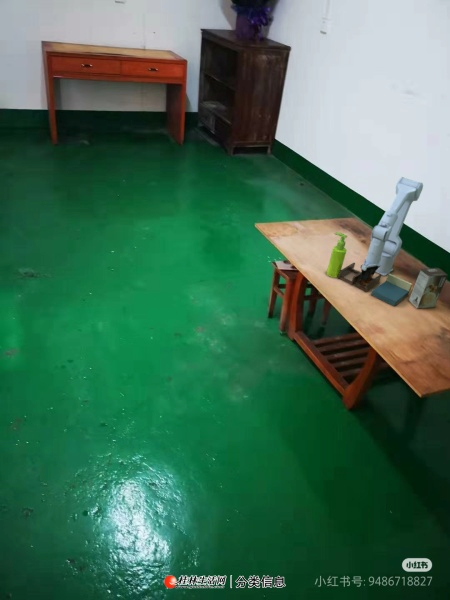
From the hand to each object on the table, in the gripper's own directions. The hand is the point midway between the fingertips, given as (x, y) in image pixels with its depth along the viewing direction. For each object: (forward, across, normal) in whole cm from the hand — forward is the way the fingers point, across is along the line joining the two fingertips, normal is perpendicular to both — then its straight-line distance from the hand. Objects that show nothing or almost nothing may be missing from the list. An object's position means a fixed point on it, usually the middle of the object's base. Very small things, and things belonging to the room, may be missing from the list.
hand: (366, 279), depth 205 cm
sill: (+2, 0, -12) cm, 12 cm away
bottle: (+2, 0, 0) cm, 2 cm away
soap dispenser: (+3, -5, +14) cm, 15 cm away
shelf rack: (+2, 0, +3) cm, 4 cm away
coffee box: (+3, +5, -25) cm, 25 cm away
